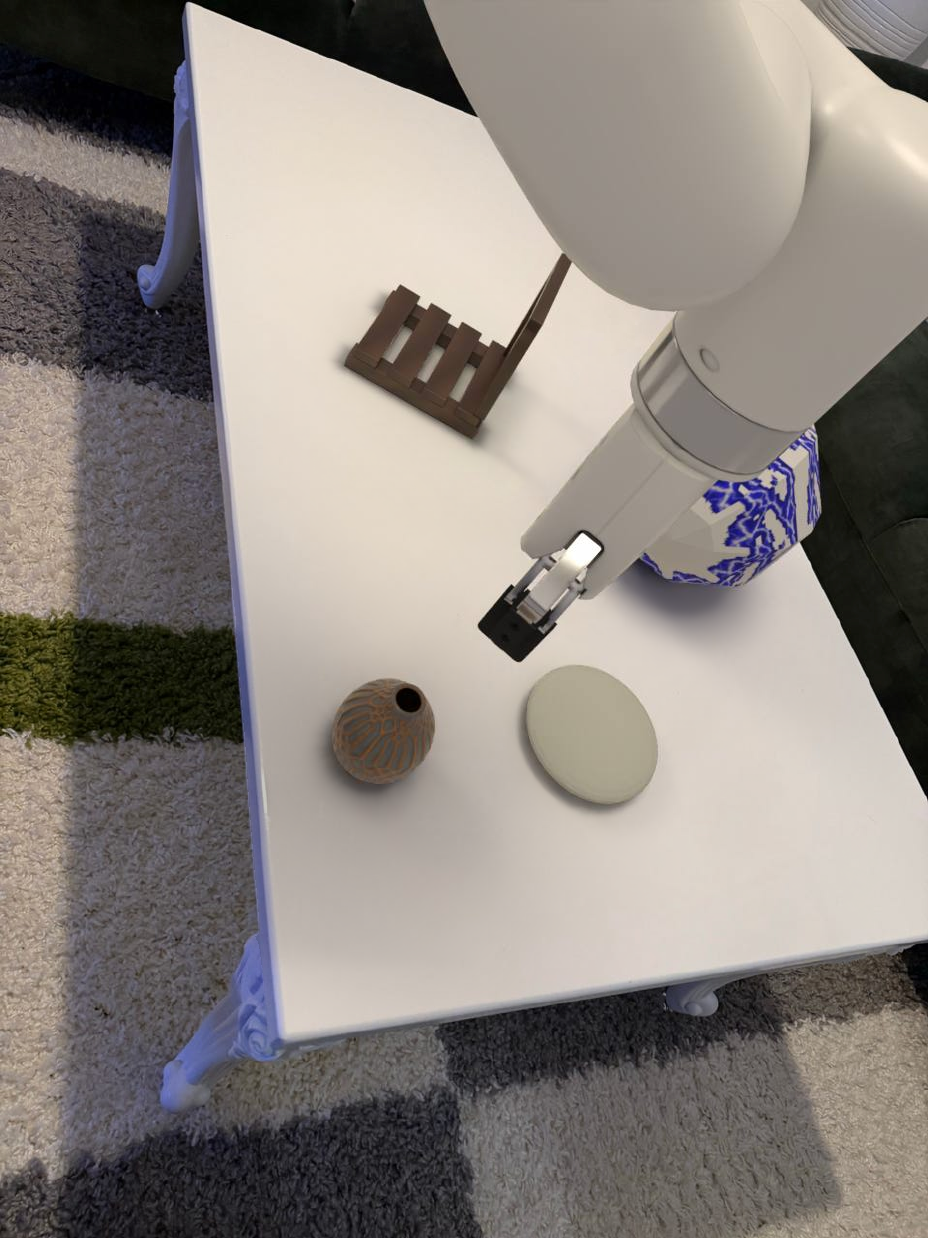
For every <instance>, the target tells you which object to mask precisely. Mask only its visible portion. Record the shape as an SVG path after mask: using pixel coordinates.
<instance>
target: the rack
mask: <svg viewBox="0 0 928 1238" xmlns="http://www.w3.org/2000/svg"><path fill="white" fill-rule="evenodd" d="M572 264H573V262H572V261H571V260H570V259H569V258H568V257H567V256H566V255H565V254H564V252H561V254H560V256H559V257H558V259H557V261H556V262H555V264H554V266H553V267H552V269H551V271H550V272H549V274H548V276H547V278H546V279H545V281H544V283H543V285H542V286H541V288H540V289H539V291H538V293H537V294H536V296H535V298H534V300H533V302H532V303H531V305H530V306H529V308H528V310H527V312H526V313H525V315H524V317H523V318H522V320H521V322H520V324H519V325H518V327H517V328H516V330H515V332H514V334H513V335H512V337H511V339H510V341H509V342H508V344H507V346H504V345H503V344H500V343H499V342H498V341H495V340H494V339H492V340H491V342H490V343H489V345H487V344H485V343H483V342H481V340H480V339H481V337H482V336H483V333H482V332H480V331H479V330H477V329H476V328H474V327H473V326H471V325H469V324H467V323H465V322H464V321H461V322H460V324H459V326H458V327H457V326H454V324H452V323H450V320H451V318H452V314H451V313H449V312H448V311H446V310H444V309H443V308H441V307H440V306H438V305H436V304H435V303H433V302H431V303H430V304H429V305H428V307H427V308H425V307H423V306H422V305H420V304H418V303H419V302H420V300H421V298H422V297H421V295H419V294H418V293H416V292H414V291H413V290H411V289H409V288H407V287H406V286H404V285H403V284H401V283H400V284H398V285H397V288H396V289H392V290H391V292H390V294H389V295H388V296H387V298H386V299H385V301H384V304H383V305H382V306H383V307H382V308H381V311H380V312H379V313H378V315H377V316H376V318H375V319H374V320H373V322H372V324H371V325H370V326H369V328H368V329H367V331H365V334H364V335H363V336H362V338H361V340H360V341H359V342H355V343H354V345H353V347H352V348H351V349H350V351H348V354H347V356H346V359H345V361H344V364H343V365H344V366H345V367H347V368H348V369H350V370H351V371H353V372H355V373H357V374H359V375H361V376H362V377H364V378H366V379H368V380H369V381H371V382H373V383H374V384H376V385H378V386H379V387H381V388H383V389H385V390H387V391H388V392H390V393H392V394H393V395H395V396H397V397H398V398H399V399H402V400H403V401H406V402H407V403H408V404H411V406H414V407H416V408H417V409H419V410H421V411H423V412H425V413H426V414H428V415H429V416H431V417H434V418H435V419H436V420H438V421H440V422H442V423H443V424H445V425H447V426H448V427H450V428H451V429H454V430H455V431H457V432H459V433H461V434H462V435H464V436H466V437H468V438H469V439H471V440H473V439H474V438H475V436H476V435H477V433H478V431H479V430H480V428H481V425H482V423H483V422H484V421H485V420H486V418H487V416H488V415H489V413H490V412H491V410H492V409H493V407H494V405H495V404H496V402H497V401H498V398H499V397H500V395H501V394H502V392H503V391H504V389H505V387H506V385H507V384H508V383H509V381H510V379H511V378H512V376H513V374H514V373H515V371H516V369H517V368H518V366H519V365H520V363H521V361H522V360H523V358H524V357H525V355H526V353H527V352H528V350H529V348H530V346H531V345H532V344H533V342H534V341H535V339H536V337H537V335H538V334H539V332H540V330H541V329H542V327H543V326H544V324H545V321H546V320H547V317H548V314H549V313H550V311H551V308H552V307H553V304H554V303H555V300H556V297H557V295H558V293H559V291H560V289H561V287H562V285H563V283H564V281H565V278H566V276H567V275H568V272H569V270H570V268H571V265H572ZM404 326H407V327H408V328H410V329H412V330H413V331H412V333H410V335H409V337H408V339H407V340H406V341H405V343H404V345H403V347H402V348H401V349H400V351H399V353H398V354H397V356H396V357H395V359H394V361H393V362H392V361H389V360H387V359H386V358H385V357H384V356H385V354H386V353H387V351H388V350H389V349H390V347H391V345H392V344H393V342H394V341H395V340H396V337H397V336H398V334H399V333H400V332H401V330H402V328H403V327H404ZM436 344H438V345H439V346H441V347H442V348H444V349H445V350H444V352H443V354H442V355H441V357H440V358H439V361H438V362H437V364H436V366H435V367H434V369H433V371H432V373H431V374H430V376H429V378H428V379H427V382H425V381H424V380H422V379H420V378H418V377H417V376H418V375H419V372H420V371H421V369H422V367H423V366H424V364H425V362H426V361H427V359H428V357H429V356H430V354H431V352H432V351H433V349H434V347H435V346H436ZM468 363H469V364H471V365H472V366H474V367H475V368H476V371H475V372H474V373H473V376H472V378H471V379H470V381H469V384H468V385H467V387H466V390H465V391H464V393H463V395H462V397H461V399H460V400H459V401H457V400H456V399H454V398H453V397H451V396H450V395H451V393H452V391H453V389H454V387H455V386H456V384H457V382H458V380H459V378H460V376H461V375H462V372H463V370H464V369H465V367H466V365H467V364H468Z"/></svg>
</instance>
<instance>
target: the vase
mask: <svg viewBox="0 0 928 1238" xmlns="http://www.w3.org/2000/svg"><path fill="white" fill-rule="evenodd" d="M435 719H436V718H435V713H434V711H433V708H432V705H431V703H430V701H429V699H428V698H427V697H426V695H425V694H424V692H423V691H422V689H421V688H419V687H418V686H417V685H416V684H413V683H410V682H407V681H405V680H401V679H398V678H390V677H387V678H386V677H385V678H378V679H374V680H371V681H368V682H366V683H364V684H361V685H359V686H358V687H357V688H356V689H353V691H352V692H350V693H349V694H348V695H347V696H346V698H345V699H344V700H343V701H342V703H341V704H340V706H339V708H338V710H337V711H336V713H335V716H334V718H333V721H332V722H333V723H332V727H331V744H332V749H333V752H334V754H335V757H336V759H337V760H338V762H339V764H340V765H341V767H342V768H343V769H344V770H345V771H346V772H347V773H348V774H349V775H351V776H352V777H354V778H356V779H357V780H360V781H362V782H365V783H370V784H375V785H377V784H378V785H380V784H383V785H384V784H389V783H390V784H391V783H394V782H397V781H400V780H402V779H404V778H406V777H407V776H409V775H410V774H412V773H413V772H415V770H416V769H418V768H419V766H420V765H422V763H423V762H424V761H425V759H426V758H427V756H428V754H429V753H430V750H431V748H432V746H433V743H434V739H435V734H436V720H435Z"/></svg>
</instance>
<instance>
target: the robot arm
mask: <svg viewBox="0 0 928 1238" xmlns="http://www.w3.org/2000/svg"><path fill="white" fill-rule="evenodd" d="M423 3H424V6H425V8H426V9H425V10H427V14H428V16H429V18H430V21H431V23H432V25H433V28H434V31H435V33H436V35H437V38H438V41H439V43H440V45H441V48H442V50H443V51H444V54H445V56H446V58H447V60H448V62H449V64H450V67H451V68H452V71H453V72H454V74H455V77H456V79H457V81H458V84H459V85H460V86H461V88H462V90H463V92H464V94H465V96H466V98H467V100H468V102H469V104H470V105H471V107H472V109H473V111H474V112H475V114H476V116H477V118H478V119H479V121H480V122H481V124H482V125H483V127H484V129H485V130H486V132H487V134H488V136H489V137H490V140H491V141H492V143H493V145H494V147H495V148H496V149H497V152H498V153H499V155H500V157H501V159H503V162H504V163H505V165H506V166H507V168H508V170H509V171H510V173H511V175H512V176H513V178H514V180H515V181H516V184H517V185H518V187H519V188H520V190H521V191H522V193H523V195H524V196H525V198H526V199H527V201H528V203H529V205H530V206H531V208H532V209H533V211H534V212H535V214H536V216H537V217H538V219H539V220H540V222H541V224H542V225H543V226H544V228H545V229H546V231H547V232H548V234H549V235H550V237H551V238H552V239H553V241H554V242H555V243H556V245H557V246H558V247H559V248H560V250H561V251H562V253H564V254H565V255H566V256H567V257H568V258H569V259H570V260H571V261H572V264H573V265H575V267H576V268H577V269H578V270H579V271H580V272H581V273H582V274H583V275H584V276H585V277H586V278H587V279H588V280H589V281H591V282H592V283H593V284H595V285H596V286H597V287H599V288H600V289H601V290H603V291H604V292H605V293H607V294H609V295H611V296H612V297H615V298H617V299H619V300H620V301H623V302H625V303H627V304H629V305H632V306H635V307H638V308H642V309H646V310H649V311H657V312H670V313H671V312H672V313H673V312H675V313H674V315H673V316H672V318H670V320H669V321H668V322H667V324H666V325H665V327H664V328H663V329H662V331H660V333H659V335H658V336H657V337H656V339H655V340H654V341H653V343H652V344H651V345H650V346H649V348H648V349H647V350H646V351H645V352H644V354H643V355H642V357H641V358H640V360H638V362H637V363H636V365H635V367H633V369H632V373H631V375H630V376H631V377H630V393H631V397H632V398H631V399H632V401H633V402H632V404H631V405H630V406H628V408H627V409H626V410H625V411H624V413H623V414H621V416H620V417H619V418H618V419H617V420H616V422H615V423H614V424H613V425H612V426H611V427H610V428H609V429H608V431H607V432H605V435H603V436H602V438H601V439H600V440H599V442H598V443H597V444H596V445H595V447H594V448H592V450H591V451H590V453H589V454H588V455H587V456H586V457H585V459H584V460H583V461H582V462H581V464H580V465H579V466H578V467H577V469H576V470H575V471H574V472H573V474H572V475H570V477H569V479H568V480H567V481H566V483H565V484H563V486H562V487H561V488H560V490H558V492H557V494H556V495H555V496H554V497H553V498H552V500H551V501H550V502H549V503H548V504H547V505H546V507H545V508H544V509H543V510H542V512H541V513H540V514H539V516H538V517H536V519H535V520H534V521H533V522H532V524H531V525H530V526H529V527H528V528H527V530H525V532H524V533H523V534H522V535H521V537H520V550H521V551H522V552H524V553H525V554H526V555H527V556H528V557H529V558H531V560H536V561H535V562H534V563H533V565H532V566H531V567H530V568H529V570H528V571H526V573H525V574H524V575H523V576H522V577H521V579H520V580H519V581H518V582H517V584H515V585H514V584H512V583H511V584H510V585H508V587H507V588H506V589H505V590H504V591H503V593H502V594H501V595H500V596H499V597H498V599H497V600H496V601H495V602H494V604H493V605H492V606H491V607H490V608H489V609H488V611H487V612H486V613H485V614H484V615H483V616H482V618H481V619H480V620H479V622H477V629H478V630H479V631H480V632H481V633H482V634H483V635H484V636H485V637H486V638H488V640H490V641H491V643H493V644H494V645H495V646H496V647H497V648H498V649H499V650H500V651H502V652H504V654H506V655H507V656H509V658H510V659H512V661H514V662H516V663H522V662H523V661H524V660H526V658H527V657H528V656H529V655H530V654H531V653H532V652H533V651H534V650H535V649H536V648H537V647H538V646H539V645H540V644H541V643H542V642H543V641H544V640H545V639H546V637H547V636H549V635H550V634H551V633H552V632H553V631H554V629H555V628H556V627H557V626H558V623H557V621H558V619H559V618H560V617H561V616H562V615H563V614H564V612H566V611H567V609H568V608H569V607H570V606H571V605H572V604H573V603H574V602H575V601H576V599H577V600H581V601H589V600H593V599H595V598H596V597H597V596H598V595H600V593H602V592H603V591H604V590H605V589H606V588H607V587H608V586H610V585H611V584H612V583H613V582H614V581H615V580H616V579H617V578H618V577H620V576H621V575H622V574H623V573H624V572H625V571H626V570H627V569H628V568H629V567H630V566H631V565H633V564H634V563H635V562H636V561H637V560H638V559H640V558H639V557H640V556H641V555H642V554H643V553H644V552H645V551H646V550H647V549H649V548H650V547H651V546H652V545H653V544H654V543H655V542H656V541H657V540H658V539H659V538H660V537H661V536H662V535H663V534H664V533H665V532H666V531H667V530H668V529H669V528H670V527H671V526H672V525H673V524H675V523H676V522H677V521H678V520H679V519H680V518H681V517H682V516H683V515H684V514H685V513H686V512H687V511H688V510H689V509H690V508H691V507H692V506H693V505H694V504H695V503H696V502H697V501H698V500H699V499H700V498H701V497H702V496H703V495H704V494H705V493H706V492H707V491H708V490H709V489H710V488H711V487H712V486H713V485H714V484H715V483H716V482H717V481H718V480H722V481H728V482H746V481H749V480H752V479H754V478H756V477H758V476H759V475H760V474H761V473H762V472H764V471H765V470H766V469H767V468H768V467H769V466H770V465H771V464H772V463H773V462H774V461H775V460H776V459H778V458H779V457H780V456H781V455H782V454H783V453H784V452H785V451H786V450H787V449H788V448H789V447H790V446H791V445H792V444H793V443H794V442H796V441H797V440H798V439H799V438H800V437H801V436H802V435H803V434H804V433H805V432H806V431H807V430H808V429H809V428H810V427H811V426H812V425H813V424H814V425H815V423H817V421H819V419H821V418H822V417H823V416H824V415H825V414H826V413H827V412H828V411H829V410H830V409H831V408H833V406H834V405H836V403H838V401H840V400H841V399H842V398H843V397H844V396H845V395H846V394H847V393H848V392H849V391H850V390H851V389H852V388H854V387H855V386H856V385H857V383H859V382H860V381H861V380H862V379H863V378H864V377H865V376H866V375H867V374H868V373H869V372H871V370H872V369H873V368H875V367H876V365H878V364H879V363H880V362H881V361H882V360H883V359H885V357H886V356H888V354H889V353H890V352H891V351H893V350H894V349H895V348H896V347H897V346H898V345H899V344H900V343H901V342H902V341H904V339H905V338H906V337H908V336H909V335H910V334H911V333H912V332H913V331H914V330H915V329H916V328H917V327H919V325H921V323H922V322H924V321H925V320H926V318H928V102H927V101H926V100H923V99H922V98H920V97H918V96H916V95H914V94H911V93H908V92H906V91H903V90H900V89H897V88H896V89H895V88H894V87H891V86H890V85H888V84H887V83H886V82H884V81H883V80H882V79H881V78H880V77H879V76H878V75H876V73H874V72H873V71H872V70H871V69H870V68H869V67H868V66H867V65H865V64H864V63H863V61H861V60H860V59H859V58H858V57H857V56H856V55H855V54H854V53H853V52H852V51H851V50H850V49H849V48H847V46H846V45H844V44H843V43H842V42H841V41H840V40H839V38H837V36H835V35H834V33H833V32H831V30H830V29H828V27H827V26H826V25H825V24H824V23H823V22H822V21H821V20H820V19H819V18H818V17H817V15H815V14H814V13H813V12H812V10H811V9H809V7H807V5H806V4H804V2H803V1H802V0H423ZM563 549H564V550H565V551H564V553H563V554H562V555H561V556H560V557H559V558H558V559H557V560H556V559H555V558H553V556H552V555H553V554H554V553H557V552H560V551H562V550H563ZM585 569H587V570H586V571H585V576H584V577H583V578H582V579H581V580H580V579H578V577H579V576H580V574H581V573H582V572H583V571H584V570H585ZM544 570H546V571H547V572H546V573H545V574H544V576H542V578H541V579H540V580H539V581H538V582H537V583H536V585H535V586H533V588H532V589H530V588H528V587H529V586H530V585H531V584H532V583H533V582H534V581H535V579H536V578H537V577H538V576H539V575H540V574H541V572H542V571H544ZM565 592H566V593H565ZM563 594H564V595H563ZM557 601H558V602H557ZM556 602H557V603H556Z"/></svg>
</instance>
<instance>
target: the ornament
mask: <svg viewBox="0 0 928 1238" xmlns="http://www.w3.org/2000/svg"><path fill="white" fill-rule="evenodd" d="M821 514H822V499H821V482H820V461H819V444H818V435H817V430H816V427H815V423H814V424H813V425H812V426H811V427H810V428H809V429H808V430H807V431H806V432H805V433H804V434H803V435H802V436H801V437H800V438H799V439H798V440H797V441H796V442H794V443H793V444H792V445H791V446H790V447H789V448H788V449H787V450H786V451H785V452H784V453H783V454H782V455H781V456H780V457H779V458H778V459H776V460H775V461H774V462H773V463H772V464H771V465H770V466H769V467H768V468H767V469H766V470H765V471H764V472H762V473H761V474H760V475H759V476H758V477H756V478H754V479H752V480H749V481H746V482H728V481H722V480H718V481H717V482H716V483H715V484H714V485H713V486H712V487H711V488H710V489H709V490H708V491H707V492H706V493H705V494H704V495H703V496H702V497H701V498H700V499H699V500H698V501H697V502H696V503H695V504H694V505H693V506H692V507H691V508H690V509H689V510H688V511H687V512H686V513H685V514H684V515H683V516H682V517H681V518H680V519H679V520H678V521H677V522H676V523H675V524H673V525H672V526H671V527H670V528H669V529H668V530H667V531H666V532H665V533H664V534H663V535H662V536H661V537H660V538H659V539H658V540H657V541H656V542H655V543H654V544H653V545H652V546H651V547H650V548H649V549H647V550H646V551H645V552H644V553H643V554H642V555H641V556H640V557H639V558H638V559H640V560H641V561H642V562H643V563H644V564H646V565H647V566H648V567H649V568H650V569H651V570H653V571H654V572H655V573H656V574H658V575H659V576H660V577H661V578H662V579H664V580H665V581H668V582H670V583H681V584H695V585H706V586H718V587H729V588H730V587H731V588H741V587H742V586H744V585H746V584H748V583H749V582H751V581H753V580H755V579H756V578H757V577H758V576H760V575H761V574H763V573H764V572H765V571H766V570H768V568H770V567H771V566H772V565H773V564H774V563H776V562H777V561H779V559H781V558H782V557H783V556H784V555H786V554H787V553H788V552H789V551H791V550H792V549H793V548H794V547H796V546H797V545H799V543H801V541H803V540H804V539H805V538H806V537H808V536H809V535H810V534H811V533H812V532H813V530H814V528H815V526H816V524H817V522H818V520H819V518H820V516H821Z"/></svg>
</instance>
